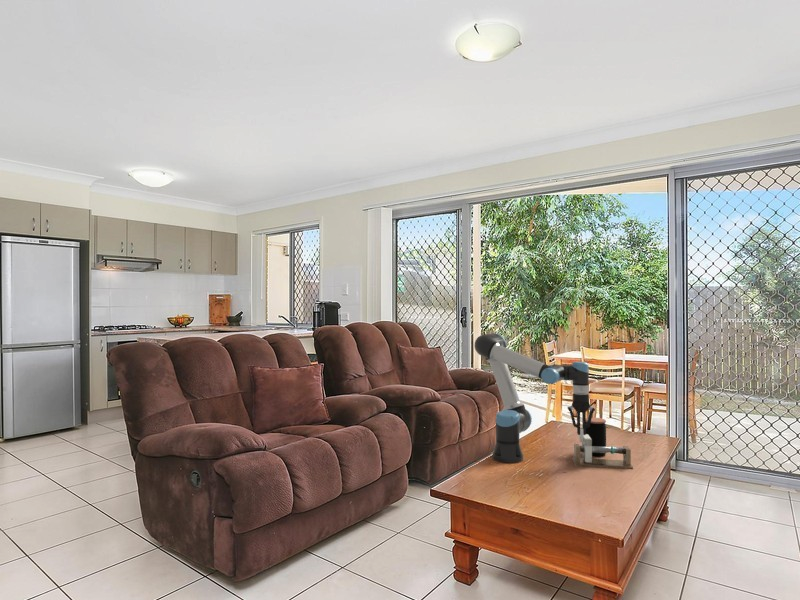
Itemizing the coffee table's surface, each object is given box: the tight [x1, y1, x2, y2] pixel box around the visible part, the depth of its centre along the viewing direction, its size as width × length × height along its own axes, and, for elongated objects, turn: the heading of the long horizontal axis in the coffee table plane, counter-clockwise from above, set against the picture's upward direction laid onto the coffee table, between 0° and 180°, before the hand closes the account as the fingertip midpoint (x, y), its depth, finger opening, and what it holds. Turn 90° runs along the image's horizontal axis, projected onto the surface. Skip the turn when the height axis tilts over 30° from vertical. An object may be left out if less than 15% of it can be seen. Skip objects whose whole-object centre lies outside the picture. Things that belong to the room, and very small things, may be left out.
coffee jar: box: [586, 416, 607, 458], centre depth 265 cm, size 11×11×18 cm
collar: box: [581, 434, 593, 462], centre depth 250 cm, size 3×10×11 cm, turn 169°
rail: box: [572, 443, 634, 470], centre depth 248 cm, size 26×10×9 cm, turn 79°
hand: (581, 441), depth 250 cm, fingers closed
